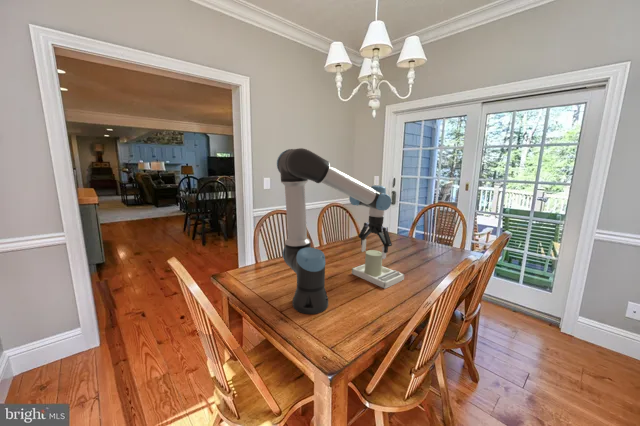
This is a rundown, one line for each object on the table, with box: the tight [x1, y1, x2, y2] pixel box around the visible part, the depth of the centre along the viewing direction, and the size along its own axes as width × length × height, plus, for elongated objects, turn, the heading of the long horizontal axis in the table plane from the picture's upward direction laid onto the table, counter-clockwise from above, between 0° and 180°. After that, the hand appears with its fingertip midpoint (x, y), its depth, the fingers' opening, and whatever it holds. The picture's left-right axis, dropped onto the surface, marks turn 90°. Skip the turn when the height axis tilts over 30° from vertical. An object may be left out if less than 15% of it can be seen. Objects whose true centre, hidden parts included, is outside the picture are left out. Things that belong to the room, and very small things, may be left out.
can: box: [364, 249, 383, 277], centre depth 140 cm, size 9×9×12 cm
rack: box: [351, 263, 405, 290], centre depth 139 cm, size 16×22×4 cm
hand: (373, 254), depth 139 cm, fingers open, 13 cm apart
